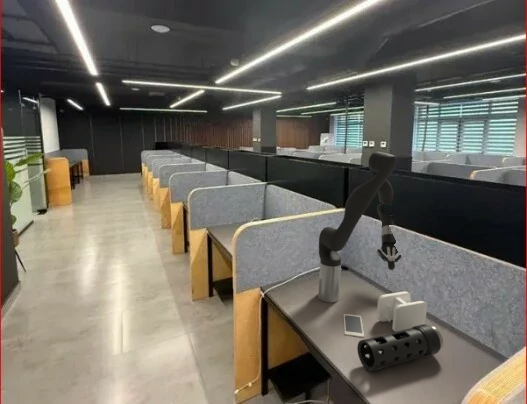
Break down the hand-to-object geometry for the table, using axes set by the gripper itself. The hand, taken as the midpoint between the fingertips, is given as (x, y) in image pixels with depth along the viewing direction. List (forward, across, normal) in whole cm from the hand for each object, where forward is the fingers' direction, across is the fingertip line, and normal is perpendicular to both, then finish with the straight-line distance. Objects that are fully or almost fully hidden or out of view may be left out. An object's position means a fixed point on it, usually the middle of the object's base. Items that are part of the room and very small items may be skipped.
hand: (391, 269), depth 144 cm
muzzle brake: (+42, -4, -23) cm, 49 cm away
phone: (+30, -18, -11) cm, 37 cm away
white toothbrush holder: (+27, 0, -8) cm, 28 cm away
